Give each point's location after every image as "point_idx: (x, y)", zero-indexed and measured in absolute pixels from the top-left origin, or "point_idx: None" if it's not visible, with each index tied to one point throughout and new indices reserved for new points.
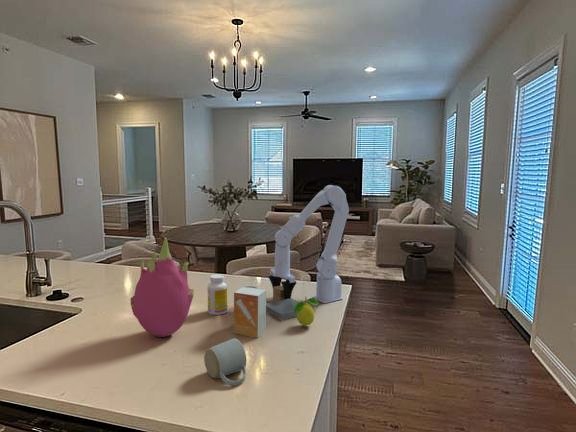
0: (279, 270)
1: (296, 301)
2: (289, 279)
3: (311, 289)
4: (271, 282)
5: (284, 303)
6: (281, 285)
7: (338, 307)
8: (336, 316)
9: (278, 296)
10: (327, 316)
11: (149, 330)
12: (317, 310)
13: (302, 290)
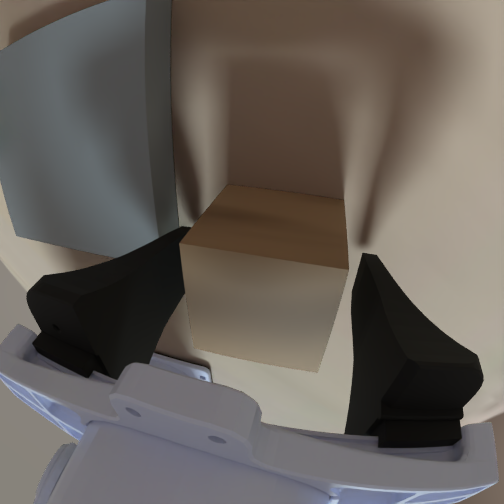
0: (66, 492)
1: (94, 245)
2: (10, 352)
3: (312, 425)
4: (419, 321)
5: (82, 153)
6: (319, 352)
7: None
8: (14, 270)
9: (235, 208)
10: (13, 249)
11: None
12: (58, 267)
13: (332, 405)
